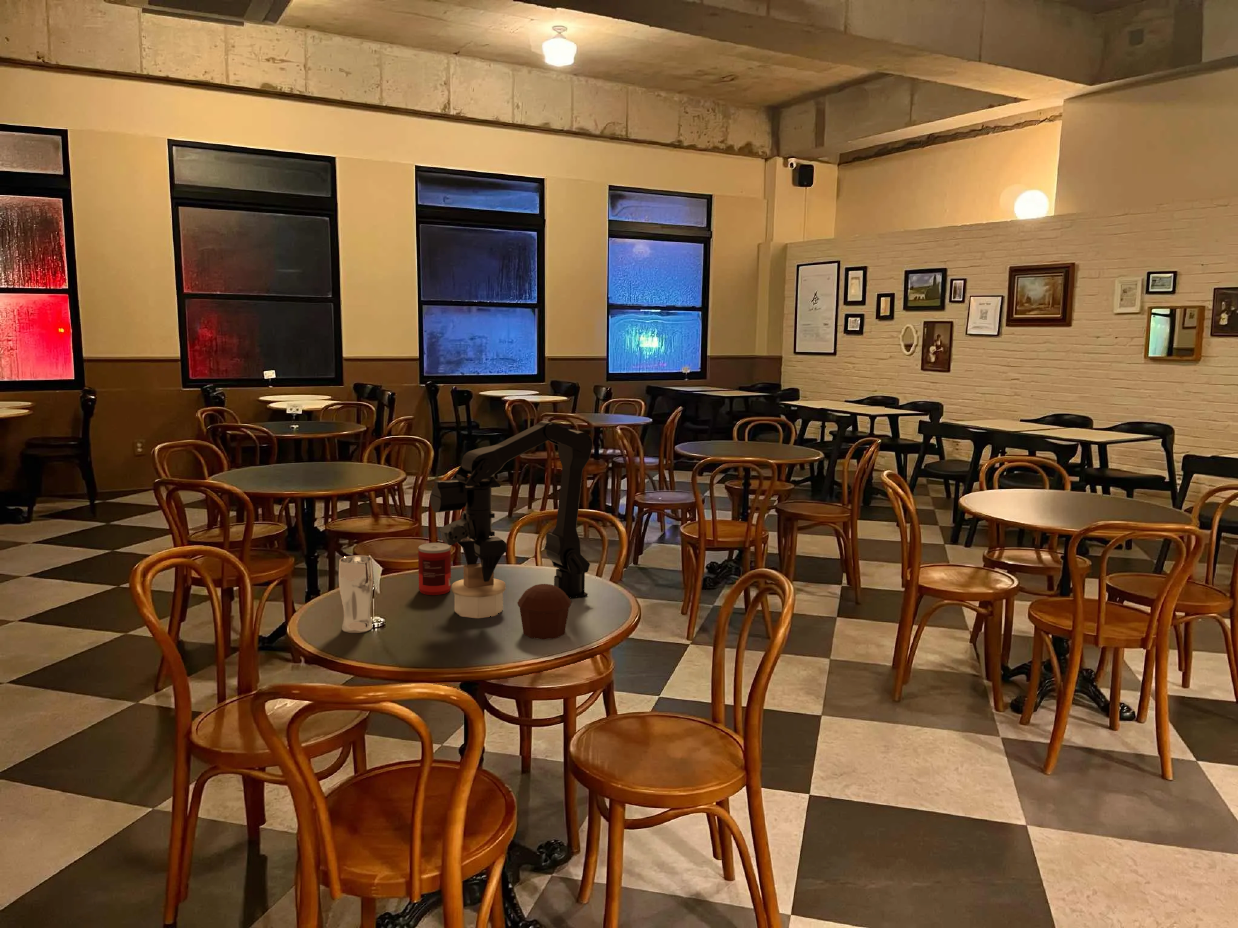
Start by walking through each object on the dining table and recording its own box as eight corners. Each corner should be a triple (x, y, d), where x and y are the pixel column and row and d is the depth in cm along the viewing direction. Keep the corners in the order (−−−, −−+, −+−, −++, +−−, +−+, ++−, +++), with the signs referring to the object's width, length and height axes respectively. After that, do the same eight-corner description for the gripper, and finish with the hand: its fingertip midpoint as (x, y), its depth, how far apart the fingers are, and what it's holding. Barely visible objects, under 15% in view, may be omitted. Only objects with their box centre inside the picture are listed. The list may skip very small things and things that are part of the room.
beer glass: (381, 625, 187) (379, 556, 185) (361, 635, 180) (359, 564, 178) (353, 621, 189) (351, 553, 187) (333, 631, 183) (331, 561, 180)
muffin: (511, 626, 188) (511, 580, 187) (560, 620, 192) (561, 576, 191) (526, 644, 177) (526, 596, 176) (578, 638, 182) (579, 591, 180)
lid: (493, 579, 206) (493, 556, 205) (513, 592, 195) (513, 568, 194) (444, 585, 200) (444, 561, 199) (462, 599, 189) (462, 575, 188)
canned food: (440, 584, 218) (439, 541, 216) (457, 591, 212) (457, 547, 210) (412, 589, 213) (411, 545, 211) (429, 597, 207) (429, 552, 205)
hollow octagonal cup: (491, 601, 205) (491, 580, 204) (508, 613, 196) (508, 592, 196) (450, 607, 200) (449, 586, 199) (465, 620, 191) (465, 598, 191)
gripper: (430, 503, 199) (430, 570, 201) (457, 519, 183) (458, 591, 185) (476, 499, 204) (477, 564, 206) (507, 514, 188) (507, 585, 190)
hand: (478, 576), depth 197 cm, fingers open, 9 cm apart
